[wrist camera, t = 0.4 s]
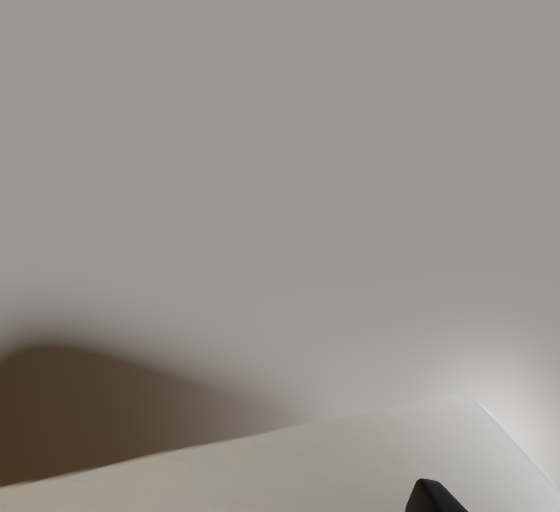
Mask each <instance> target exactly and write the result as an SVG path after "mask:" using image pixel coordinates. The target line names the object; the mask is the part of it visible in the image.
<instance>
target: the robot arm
mask: <svg viewBox="0 0 560 512" xmlns="http://www.w3.org/2000/svg"><path fill="white" fill-rule="evenodd" d="M405 512H468V511H467V510H466V509H465V508H464V507H463V506H462V505H461V504H460V503H459V502H458V501H457V500H456V499H455V498H454V497H453V496H452V495H451V494H450V492H449V491H448V490H447V489H446V488H445V487H444V486H443V485H442V484H441V483H439V482H438V481H434V480H429V479H423V478H422V479H419V480H417V482H416V483H415V486H414V488H413V491H412V493H411V495H410V498H409V500H408V503H407V505H406V509H405Z"/></svg>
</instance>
